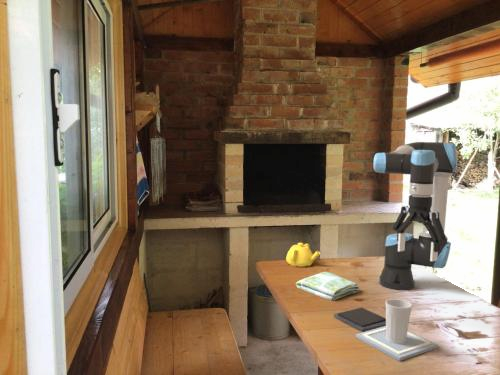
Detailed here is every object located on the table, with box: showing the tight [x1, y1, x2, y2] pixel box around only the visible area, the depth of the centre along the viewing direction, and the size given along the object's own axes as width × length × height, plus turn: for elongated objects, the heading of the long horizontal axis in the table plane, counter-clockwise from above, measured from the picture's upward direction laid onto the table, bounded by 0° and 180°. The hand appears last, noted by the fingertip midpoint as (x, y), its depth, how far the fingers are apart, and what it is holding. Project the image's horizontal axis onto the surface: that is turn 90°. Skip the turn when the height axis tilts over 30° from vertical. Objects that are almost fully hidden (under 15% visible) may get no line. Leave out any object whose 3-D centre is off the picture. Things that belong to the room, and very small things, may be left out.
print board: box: [354, 325, 439, 362], centre depth 144 cm, size 18×18×1 cm
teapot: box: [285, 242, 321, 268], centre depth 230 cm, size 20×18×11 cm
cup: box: [385, 298, 413, 344], centre depth 143 cm, size 8×8×12 cm
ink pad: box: [333, 307, 386, 333], centre depth 161 cm, size 14×14×2 cm
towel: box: [295, 271, 360, 301], centre depth 192 cm, size 18×21×5 cm
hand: (416, 255), depth 156 cm, fingers open, 13 cm apart
